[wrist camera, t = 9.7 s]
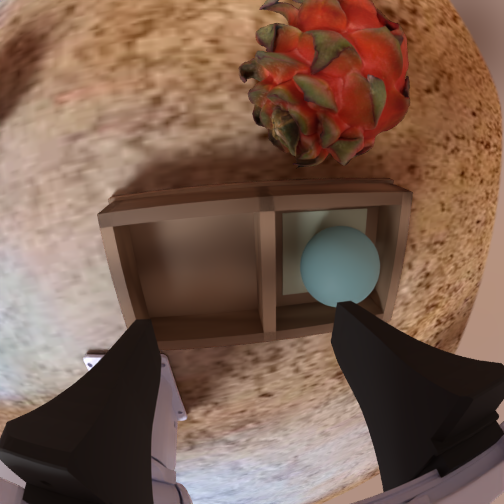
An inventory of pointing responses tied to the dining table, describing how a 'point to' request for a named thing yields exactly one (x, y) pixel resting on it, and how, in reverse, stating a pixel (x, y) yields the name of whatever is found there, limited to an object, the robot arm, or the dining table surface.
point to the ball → (339, 265)
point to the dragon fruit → (328, 78)
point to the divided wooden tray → (244, 256)
